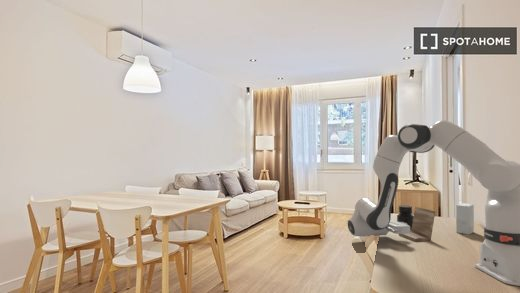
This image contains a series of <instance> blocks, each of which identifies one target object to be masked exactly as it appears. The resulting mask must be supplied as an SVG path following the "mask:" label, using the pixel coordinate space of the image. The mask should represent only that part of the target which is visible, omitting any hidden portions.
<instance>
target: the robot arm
mask: <svg viewBox="0 0 520 293" xmlns="http://www.w3.org/2000/svg"><path fill="white" fill-rule="evenodd" d="M435 146H436V147H438V148H439V149H441V150H442V152H445V153H446V154H447V155H448V156H450V157H451V158H452V159H453V160H455V161H456V162H457V163H459V164H460V165H461V166H462V167H463V168H465V169H466V171H467V172H468V173H470V174H471V175H472V176H473V177H474V179H475V180H477V182H479V183H480V185H481V186H482V187H483V188H484V189H487V194H486V195H487V196H486V202H485V205H484V216H485V218H484V219H485V222H484V224H485V227H484V228H483V237H484V240H483V241H482V242H481V243H480V245H479V246H480V247H479V259H478V260H479V262H476V263H475V268H477V270H480V271H482V272H483V273H485V274H487V275H489V276H491V277H493V278H495V279H496V280H498V281H500V282H502V283H504V284H508V285H510V286H511V285H512V286H516V287H517V286H518V287H520V163H518V162H515V161H513V160H506V159H504V158H502V156H500V154H497V153H496V152H495V151H493V149H491V148H490V147H489V146H488V145H487V144H486V143H485V142H483V141H481V139H479V138H477V137H476V136H475V135H473V134H472V133H470V132H469V131H467V130H466V129H464V128H462V127H461V126H460V125H458V124H455V123H453V122H451V121H449V120H446V119H441V120H438V121H436V122H435V123H433V124H432V125H431V126H430V127H429V126H428V125H425V124H424V125H423V124H416V123H409V124H406V125H404V126H402V127H401V128H400V129H399V131H398V133H397V135H396V134H389V135H388V136H385V138H384V139H383V141H382V143H381V144H380V146H379V148H378V150H377V152H376V155H375V157H374V160H373V164H372V165H373V166H372V168H373V171H374V173H375V175H376V176H377V178H378V180H379V182H380V185H381V189H380V194H379V197H378V200H377V203H376V202H375V201H374V200H372V199H370V198H368V197H363V198H361V199H359V200H357V202H356V204H355V206H354V211H353V214H352V216H351V217H350V218H349V219H348V220H347V228H348V230H349V232H350V233H351V235H353V236H354V237H371V236H374V237H377V236H380V237H381V236H386V235H387V234H388V233H389V232H390V233H393V234H396V235H399V234H409V233H410V231H411V229H410V226H409V225H407V223H404V222H397V220H394V219H391V216H392V215H391V214H392V209H393V208H392V207H393V205H394V201H395V198H396V195H397V194H396V193H397V192H398V191H397V190H398V188H399V172H400V171H399V170H400V168H401V164H402V162H403V159H404V157H405V155H406V154H407V153H419V154H423V153H428V152H430V151H432V150H433V148H435Z"/></svg>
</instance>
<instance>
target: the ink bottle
mask: <svg viewBox="0 0 520 293" xmlns="http://www.w3.org/2000/svg"><path fill="white" fill-rule="evenodd" d="M398 212H399V213H398V214H397V215H396V221H397V222H404V223H407V225H409V226H410V230H412V224H413V218H414V214H413V206H411V205H406V204H405V205H398Z"/></svg>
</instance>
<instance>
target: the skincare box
mask: <svg viewBox="0 0 520 293" xmlns="http://www.w3.org/2000/svg"><path fill="white" fill-rule="evenodd" d="M474 206H475V205H474V204H472V203H464V202H460V203H458V204H456V206H455V208H456V209H455V211H456V213H455V214H456V215H455V218H456V220H455V221H456V223H455V225H456V230H455V231H456V233H457V232H458V234H462V233H463V235H468V236H469V235H470V234H472V233H474V231H475V228H474V227H475V225H474V224H475V222H474V220H475V218H474V217H475V216H474V215H475V214H474V213H475V211H474V210H475V209H474V208H475V207H474Z"/></svg>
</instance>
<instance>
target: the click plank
mask: <svg viewBox="0 0 520 293" xmlns="http://www.w3.org/2000/svg"><path fill="white" fill-rule="evenodd" d="M413 216H414V218H413V224H412V229H410V231H412V232H414V233H417V234H420V235H423V236H426V237H428V241H431V240H432V234H433V228H434V224H435V218H436V217H435V216H436V211H435V210H431V209H427V208H422V207H418V206H415V208H414V212H413Z"/></svg>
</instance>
